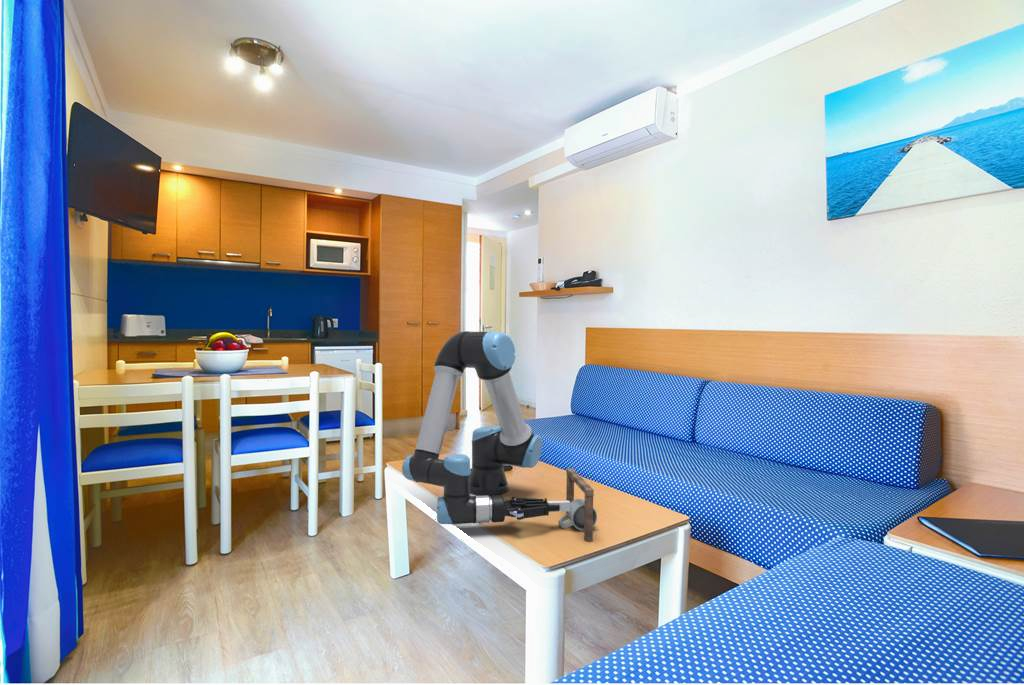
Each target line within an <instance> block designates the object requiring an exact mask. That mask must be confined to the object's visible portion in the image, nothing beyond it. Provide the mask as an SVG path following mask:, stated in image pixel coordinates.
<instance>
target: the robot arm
mask: <svg viewBox="0 0 1024 685" xmlns="http://www.w3.org/2000/svg"><path fill="white" fill-rule="evenodd" d="M515 353H516V349H515V345H514V342H513V340H512V338H511V337H510V336H509V335H508V334H506V333H504V332H501V331H494V330H491V331H459V332H457V333H455V334H454V335H453V336H451V337H449V338H448V340H447V341H446V342H445V343H444V344H443V346H442V347H441V349H440V351H439V352H438V354H437V356H436V358H435V362H434V366H433V369H434V372H435V374H434V377H433V378H434V379H433V382H432V385H431V389H430V394H429V396H428V400H427V405H426V409H425V413H424V416H423V418H422V419H423V420H422V423H421V427H420V430H419V434H418V438H417V442H416V445H415V448H414V452H413V454H409V455H407V456H406V457H405V459H404V461H403V462H402V465H401V472H402V475H403V476H404V478H405V479H407V480H409V481H413V482H415V483H423V484H428V485H433V486H437V487H438V486H439V487H442V488H443V496H439V497H437V500H436V520H437V523H438V524H440V525H452V526H454V525H463V524H464V525H465V524H479V525H482V524H486V523H490V521H491V522H492V523H503V522H505V518H506V517H511V518H516V520H517V521H521V520H525V519H529V518H537V517H544V516H549V513H561V512H562V513H563V512H566V511H570V501H566V500H552V501H551V500H550V501H549V500H548V498H545V497H544V498H536V497H535V498H534V497H533V498H532V497H531V498H530V497H518V496H517V497H516V496H511V499H508V500H505V496H504V495H503V494H504V493H506V492H507V491H508V490H509V482H508V480H507V479H508V478H507V476H506V473H505V470H504V465H506V466H507V465H508V466H513V467H517V468H518V467H519V468H522V469H523V468H526V469H527V468H528V469H531V468H534V467H535V466H536V465H537V464H538V463H539V460H540V458H541V455H542V453H543V452H542V450H543V439H542V436H540V435H538V434H534V432H533V430H532V427H531V426H530V425H529V424H528V423H526V422H525V418H524V416H523V412H522V409H521V406H520V402H519V398H518V395H517V393H516V389H515V386H514V383H513V380H512V377H511V373H510V372H511V370H512V369H513V365H514V364H515V360H516V355H515ZM466 368H467V369H468V368H470V369H475V370H474V371H475V373H476V374H477V375H476V376H477V377H478V379H479V380H481V381H484V384H485V386H486V390H487V392H488V395H489V398H490V399H489V400H490V402H491V404H492V407H493V409H494V413H495V416H496V419H497V422H498V425H490V426H489V425H488V426H482V427H478V428H475V429H474V430H473V431H472V436H471V459H470V457H469V456H468V455H466V454H464V453H451V454H448V455H445V457H444V459H441V458H440V453H441V449H442V445H443V441H444V438H445V435H446V434H445V433H446V429H447V425H448V421H449V417H450V413H451V410H452V406H453V403H454V402H453V401H454V397H455V394H456V391H457V390H456V389H457V386H458V382H459V380H460V378H462V377H463V376H464V372H465V369H466ZM470 460H471V461H470ZM470 463H471V464H470ZM470 494H472V495H470Z"/></svg>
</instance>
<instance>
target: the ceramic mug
mask: <svg viewBox="0 0 1024 685" xmlns="http://www.w3.org/2000/svg"><path fill="white" fill-rule="evenodd" d="M584 502H585V499H580V498H576V499H574V500H573V501H572V502H571V503H570V511H568V513H567V514H565V515H563V516H561V517H560V518H559V519H558V524H559V527H560V528H561V529H567V528H569V527H572V526H573V527H574V528H575V529H577V530H578V531H581V532H584ZM597 520H598V514H597V511H596V509H595V507H593V528H594V527H595V525H596V523H597Z"/></svg>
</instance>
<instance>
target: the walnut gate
mask: <svg viewBox="0 0 1024 685" xmlns="http://www.w3.org/2000/svg"><path fill="white" fill-rule="evenodd" d="M565 471H566V472H565V473H566V490H565V491H566V494H565V498H566V500H565V501H570V503H571V502H572V501H573V500H575V484H576V486H577V487H578V488H579V489H580V490H581V491H582V492H583V494H584V501H585V502H584V531H583V540H584V541H585V542H588V543H589V542H593V540H594V538H593V536H594V527H593V508H594V495H595V493H594V492H595V491H594V488H593V487H591V485H590V484H589V483H587V481H586V480H585V479H584V478H583V477H582V476H581V475H580V474H579V473H578V472H577V471H576V470H575V469H574V468H573V467H571V468H570V467H566V470H565ZM565 512H566V514H567V513H568V511H565ZM566 514H565V515H566Z"/></svg>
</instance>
